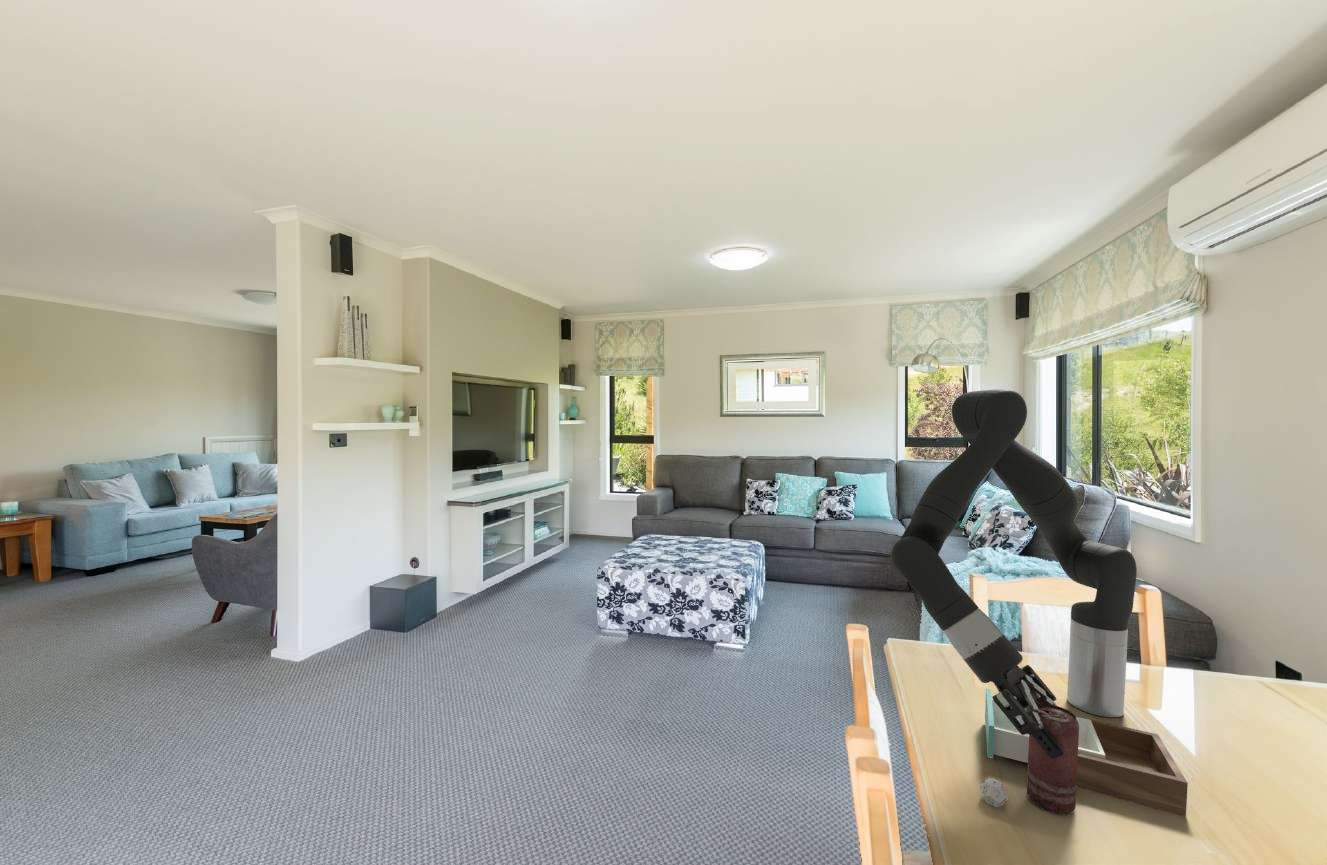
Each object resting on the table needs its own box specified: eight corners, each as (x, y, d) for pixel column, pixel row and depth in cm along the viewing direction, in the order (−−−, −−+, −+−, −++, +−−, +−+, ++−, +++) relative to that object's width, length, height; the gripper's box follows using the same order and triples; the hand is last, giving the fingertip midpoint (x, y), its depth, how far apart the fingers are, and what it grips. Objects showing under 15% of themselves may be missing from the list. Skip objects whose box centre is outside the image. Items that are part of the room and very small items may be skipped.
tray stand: (1037, 734, 105) (1038, 707, 105) (1156, 762, 97) (1157, 733, 97) (1047, 779, 92) (1049, 748, 92) (1185, 815, 84) (1187, 782, 84)
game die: (976, 802, 86) (977, 782, 86) (984, 791, 89) (984, 772, 89) (1002, 814, 84) (1003, 794, 84) (1009, 802, 86) (1010, 783, 86)
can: (1015, 789, 89) (1019, 701, 89) (1053, 788, 90) (1057, 701, 89) (1044, 817, 83) (1049, 722, 83) (1085, 815, 84) (1089, 721, 83)
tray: (984, 716, 109) (986, 688, 109) (1087, 740, 102) (1089, 710, 101) (987, 756, 96) (988, 725, 96) (1106, 787, 89) (1107, 753, 88)
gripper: (986, 645, 86) (1077, 755, 78) (1012, 622, 96) (1095, 717, 88) (948, 668, 90) (1031, 775, 82) (976, 643, 100) (1053, 737, 92)
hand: (1064, 745), depth 85 cm, fingers open, 7 cm apart
